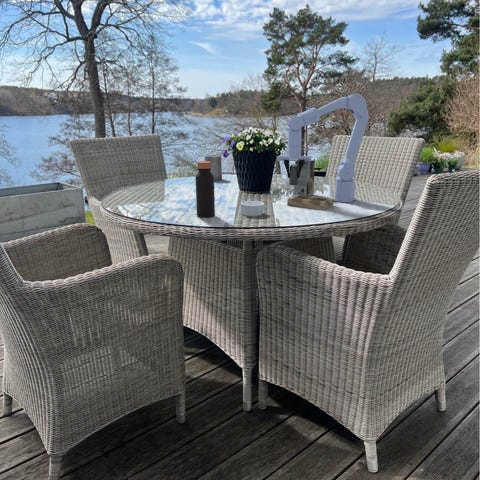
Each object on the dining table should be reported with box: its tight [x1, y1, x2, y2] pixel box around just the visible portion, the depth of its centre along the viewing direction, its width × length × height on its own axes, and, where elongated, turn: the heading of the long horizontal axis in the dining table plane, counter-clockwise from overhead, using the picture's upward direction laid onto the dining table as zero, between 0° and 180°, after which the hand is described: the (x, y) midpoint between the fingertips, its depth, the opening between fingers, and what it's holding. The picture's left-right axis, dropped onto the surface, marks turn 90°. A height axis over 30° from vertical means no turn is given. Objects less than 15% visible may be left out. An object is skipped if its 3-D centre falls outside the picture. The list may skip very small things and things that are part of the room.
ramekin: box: [240, 200, 265, 217], centre depth 160 cm, size 9×9×4 cm
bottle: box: [194, 160, 216, 219], centre depth 155 cm, size 7×7×20 cm
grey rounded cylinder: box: [288, 163, 298, 186], centre depth 182 cm, size 4×4×9 cm
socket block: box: [286, 195, 334, 211], centre depth 174 cm, size 10×16×3 cm, turn 56°
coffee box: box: [293, 159, 316, 196], centre depth 194 cm, size 9×6×16 cm
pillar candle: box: [204, 154, 223, 182], centre depth 243 cm, size 10×10×15 cm
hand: (293, 177), depth 183 cm, fingers closed on grey rounded cylinder, 4 cm apart
